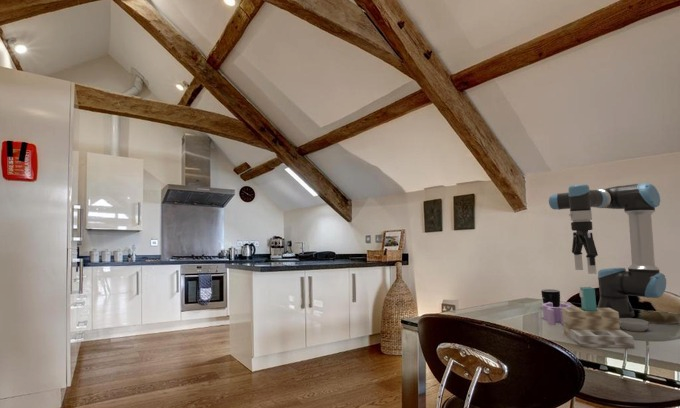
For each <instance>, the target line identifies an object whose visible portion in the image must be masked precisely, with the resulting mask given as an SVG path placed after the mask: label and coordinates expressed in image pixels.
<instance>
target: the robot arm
mask: <svg viewBox="0 0 680 408" xmlns="http://www.w3.org/2000/svg"><path fill="white" fill-rule="evenodd" d="M660 203H661V197H660V193H659V191H658V189H657V188H656V186H655V185H653V184H652V183H647V182H644V183H633V184H626V185H618V186H612V187H608V188H602V189H590V186H589V185H588V184H585V183H584V184H583V183H582V184H574V185H569V186H568V192H562V193H559V192H558V193H553V194H551V195H550V196H549V197H548V204H549V208H551V209H552V210H555V211H556V210H569V212H570V213H569V214H568V216H569V217H570V221H572V222H570V227H571V231H573V233H572V236H573V239H572V246H571V247H572V248H571V253H572V254H573V256H574V268H575V269H574V270H575V271H583V270H584V267H583V266H584V264H583V252H582V250H583V249H584V250H585V253H586V256H585V257H586V262H587V273H588V274H589V275H592V274H594V275H597V280H598V290H599V301H598V305H597V306H596V308H611V309H613V310H615V311H617V312H619V318H633V317H635V311H634V309H633V307H632V305H631V303H630V300H629V296H632V297H633V296H634V297H639V298H640V297H642V298H647V299H650V298H651V299H658V298H661V297H662V296H663V295H664V294H665V291H666V288H667V278H666V276H665V274H663V273H661V272H660V268H659V267H658V266H656V264H655V263H656V262H655V261H656V260H655V247H654V237H653V223H652V222H653V221H652V215H653V213H654V212H656V208H657V207H659V206H660ZM592 208H597V209H611V210H624V213H625V214H626V215H627V216H628V225H629V226H628V227H629V240H630V256H631V257H630V258H631V265H630V266H628V268H627V269H626V267H613V268H612V267H611V268H609V267H608V268H601V269H599V270H598V271H597V264H596V257H597V256H598V250H597V247H596V244H595V241H594V237H593V236H594V235H593V232H589V231H592V230H594V229H593V222H592V221H591V220H592V219H593V215H592V214H593V213H592Z"/></svg>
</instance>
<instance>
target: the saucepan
mask: <svg viewBox="0 0 680 408" xmlns="http://www.w3.org/2000/svg"><path fill="white" fill-rule="evenodd" d="M619 323H620V329H621V330H625V331H631V332H646V331H647V330H648V327H649V325H650V324H649V321H648V320H645V319H642V318H641V319H640V318H633V317H628V318H619ZM645 330H646V331H645Z"/></svg>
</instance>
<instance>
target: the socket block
mask: <svg viewBox="0 0 680 408" xmlns="http://www.w3.org/2000/svg"><path fill="white" fill-rule="evenodd" d="M596 309H597V311H583V310H582V307H571V308H562V313H563V325H564V326H563V334H564V335H566V336H567V337H568V338H569V339H570V340H572V342H574V343H576V345H577V346H579V347H583V348H584V347H585V348H586V347H587V348H618V349H621V348H622V349H635V340H634V336H633V335H631V334H629V333H627V332H625V331H623V330H622V329H621V327H620V323H619V312H617V311H615V310H613V309H611V308H597V307H596Z"/></svg>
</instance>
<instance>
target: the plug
mask: <svg viewBox="0 0 680 408" xmlns="http://www.w3.org/2000/svg"><path fill="white" fill-rule="evenodd" d="M578 292H579V297H580V301H581V308H582V310H583V311H597V309H596V308H597V301H596V288H595V287H591V286H580V287H579V291H578Z"/></svg>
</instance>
